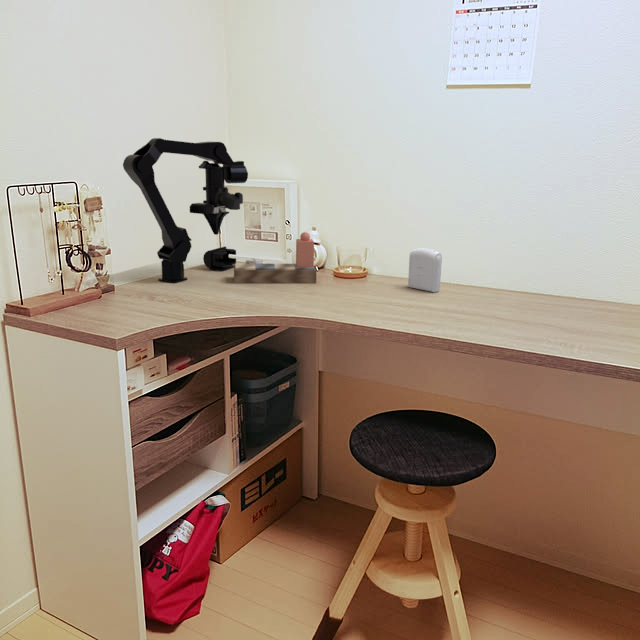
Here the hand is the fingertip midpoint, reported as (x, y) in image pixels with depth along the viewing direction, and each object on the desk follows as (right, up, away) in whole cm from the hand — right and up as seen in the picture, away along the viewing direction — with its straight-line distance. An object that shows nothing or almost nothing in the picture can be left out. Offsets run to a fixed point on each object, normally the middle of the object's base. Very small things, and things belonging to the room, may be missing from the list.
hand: (216, 234), depth 204 cm
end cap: (-1, -10, +15) cm, 18 cm away
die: (+11, -11, +10) cm, 18 cm away
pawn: (+28, -10, -2) cm, 30 cm away
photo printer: (+64, -18, -9) cm, 67 cm away
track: (+19, -14, -2) cm, 24 cm away
